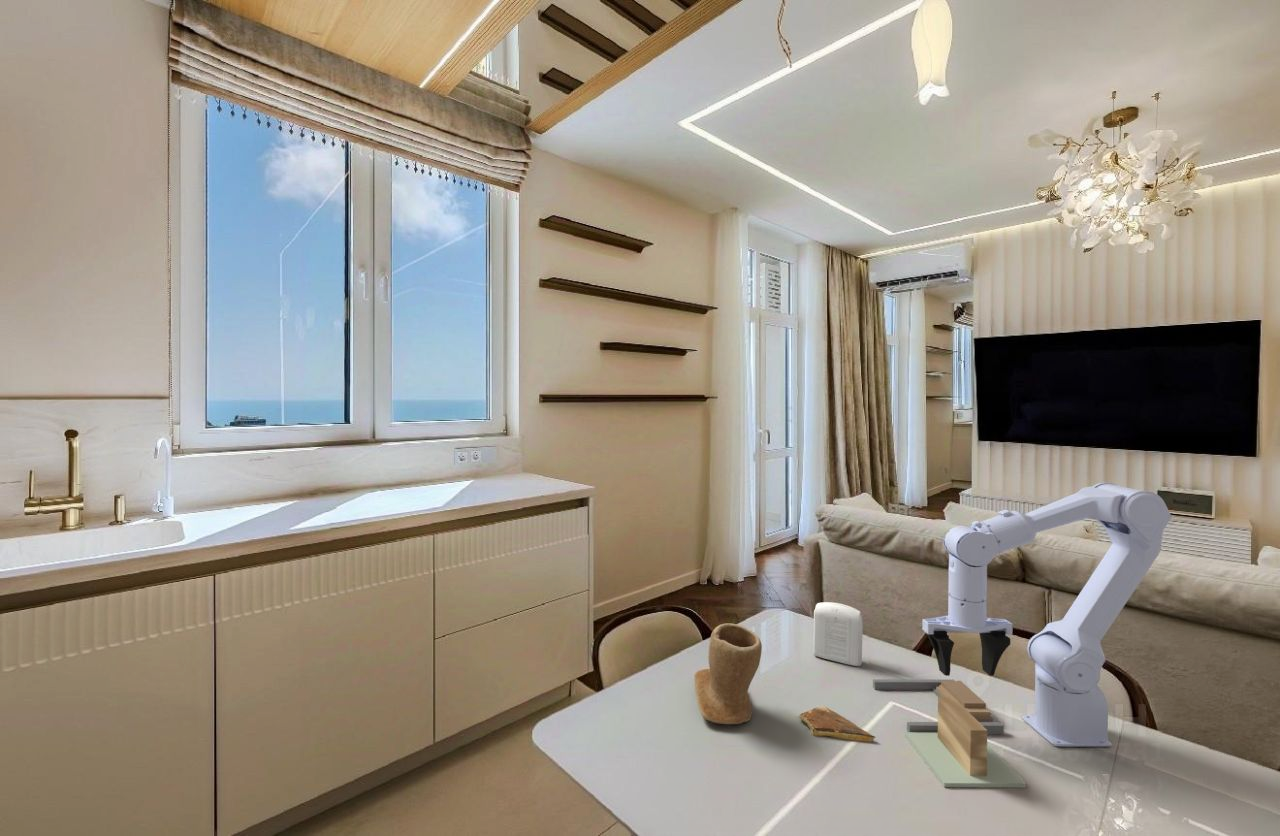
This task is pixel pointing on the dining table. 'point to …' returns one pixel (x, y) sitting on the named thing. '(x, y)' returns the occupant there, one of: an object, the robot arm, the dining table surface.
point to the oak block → (962, 736)
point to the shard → (833, 725)
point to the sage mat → (951, 769)
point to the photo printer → (838, 633)
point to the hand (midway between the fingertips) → (966, 672)
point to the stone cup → (728, 675)
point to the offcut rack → (944, 690)
